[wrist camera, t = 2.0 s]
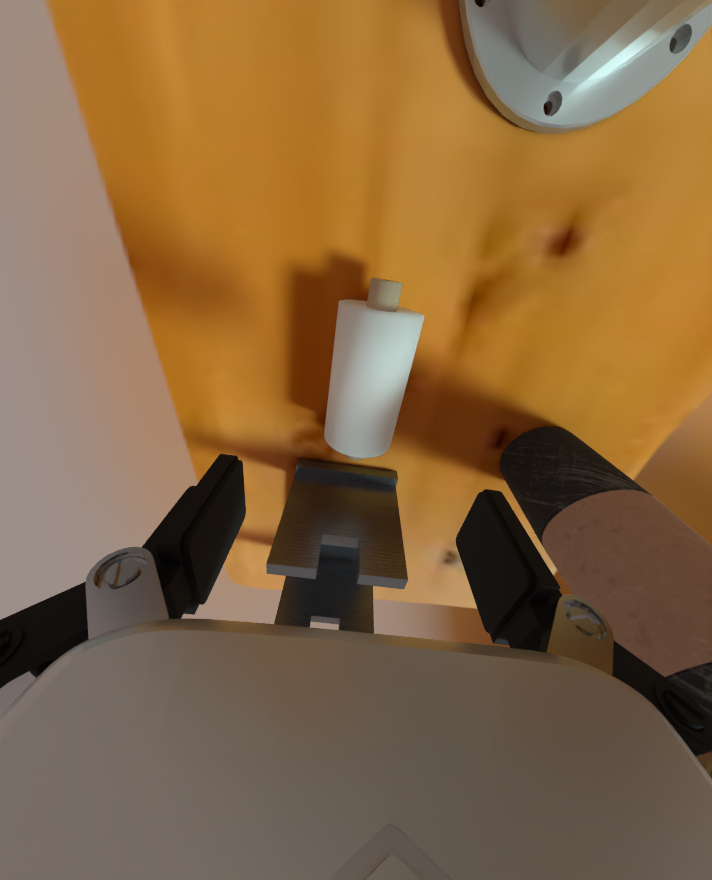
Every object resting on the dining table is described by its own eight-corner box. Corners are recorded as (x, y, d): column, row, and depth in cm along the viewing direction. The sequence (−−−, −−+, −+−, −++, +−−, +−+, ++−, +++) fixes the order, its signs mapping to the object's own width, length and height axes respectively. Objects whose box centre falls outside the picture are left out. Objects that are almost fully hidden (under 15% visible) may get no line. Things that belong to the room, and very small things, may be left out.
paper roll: (340, 270, 20) (342, 276, 15) (419, 284, 20) (444, 293, 16) (323, 432, 27) (320, 471, 22) (381, 438, 27) (391, 476, 23)
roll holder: (298, 457, 28) (266, 554, 19) (396, 471, 29) (411, 571, 20) (293, 556, 37) (268, 655, 28) (369, 565, 38) (370, 665, 28)
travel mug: (482, 478, 29) (640, 779, 12) (524, 414, 25) (845, 730, 8) (548, 494, 30) (781, 794, 13) (599, 434, 26) (1026, 756, 9)
